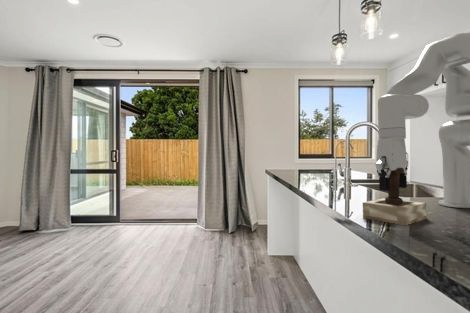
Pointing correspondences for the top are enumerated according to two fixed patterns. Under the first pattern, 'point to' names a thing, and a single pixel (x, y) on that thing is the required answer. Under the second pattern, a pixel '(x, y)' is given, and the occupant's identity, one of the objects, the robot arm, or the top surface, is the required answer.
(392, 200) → the bolt
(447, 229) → the top surface
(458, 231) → the top surface
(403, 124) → the robot arm
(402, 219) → the socket block
